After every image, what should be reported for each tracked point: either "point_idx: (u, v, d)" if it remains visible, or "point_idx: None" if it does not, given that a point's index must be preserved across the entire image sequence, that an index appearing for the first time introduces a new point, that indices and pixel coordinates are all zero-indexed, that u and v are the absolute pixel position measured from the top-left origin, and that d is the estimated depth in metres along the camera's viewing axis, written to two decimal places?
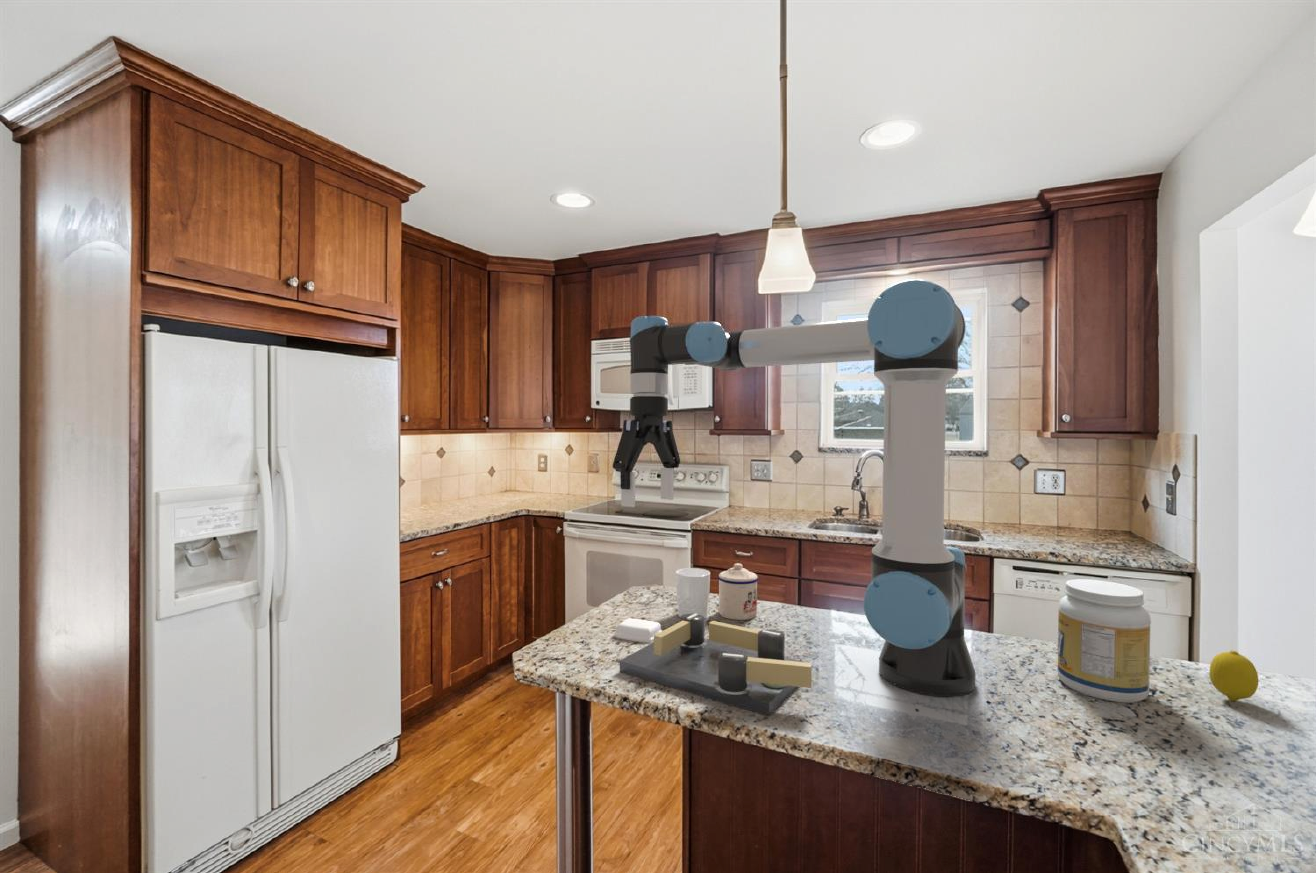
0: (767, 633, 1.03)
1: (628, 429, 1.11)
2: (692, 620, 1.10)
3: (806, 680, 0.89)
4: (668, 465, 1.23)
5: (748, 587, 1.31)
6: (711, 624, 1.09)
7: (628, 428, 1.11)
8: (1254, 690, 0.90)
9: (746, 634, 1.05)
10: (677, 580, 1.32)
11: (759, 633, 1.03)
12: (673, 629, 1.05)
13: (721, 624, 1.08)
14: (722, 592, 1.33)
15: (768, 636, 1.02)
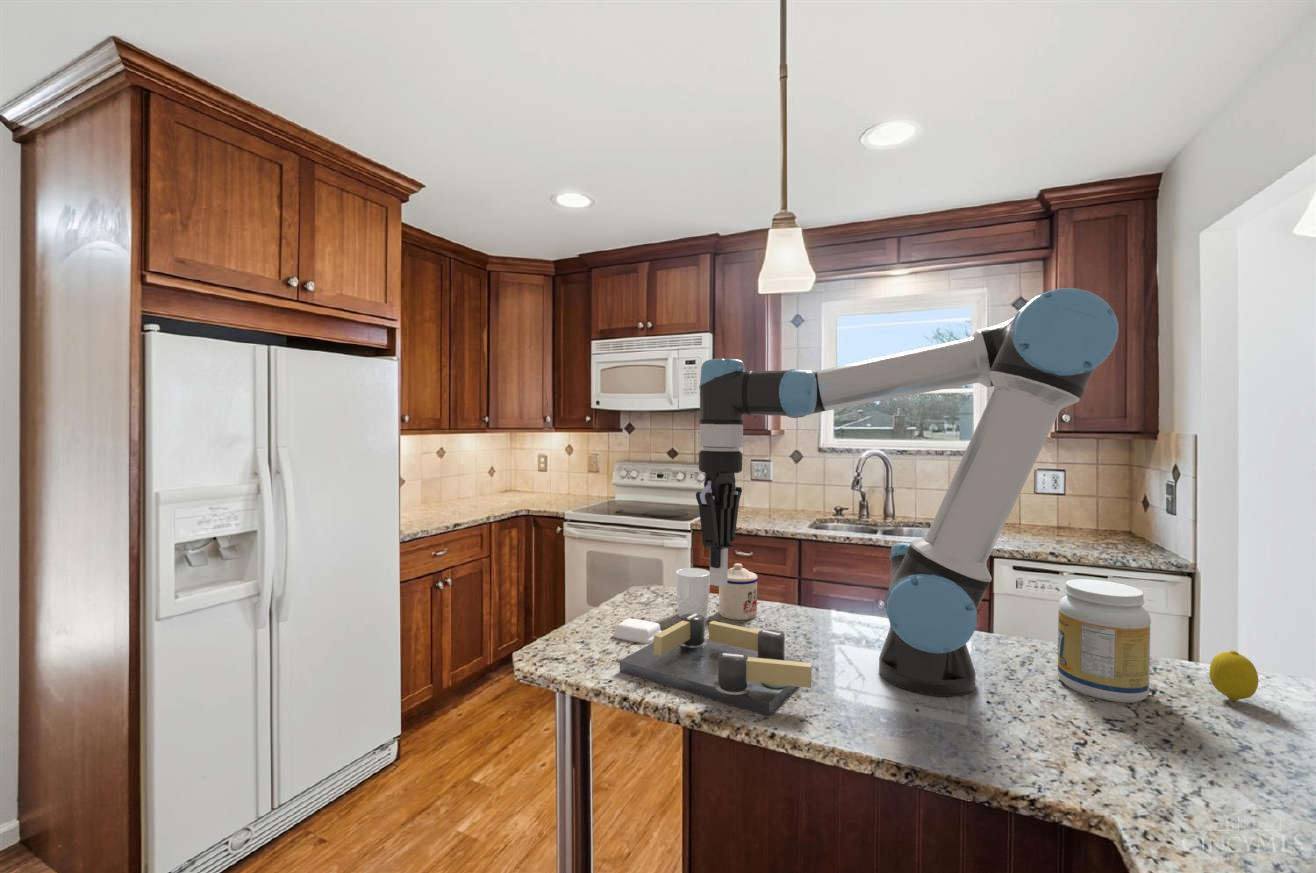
0: (767, 633, 1.03)
1: (704, 503, 0.97)
2: (692, 620, 1.10)
3: (806, 680, 0.89)
4: None
5: (748, 587, 1.31)
6: (711, 624, 1.09)
7: (704, 503, 0.97)
8: (1254, 690, 0.90)
9: (746, 634, 1.05)
10: (677, 580, 1.32)
11: (759, 633, 1.03)
12: (673, 629, 1.05)
13: (721, 624, 1.08)
14: (722, 592, 1.33)
15: (768, 636, 1.02)
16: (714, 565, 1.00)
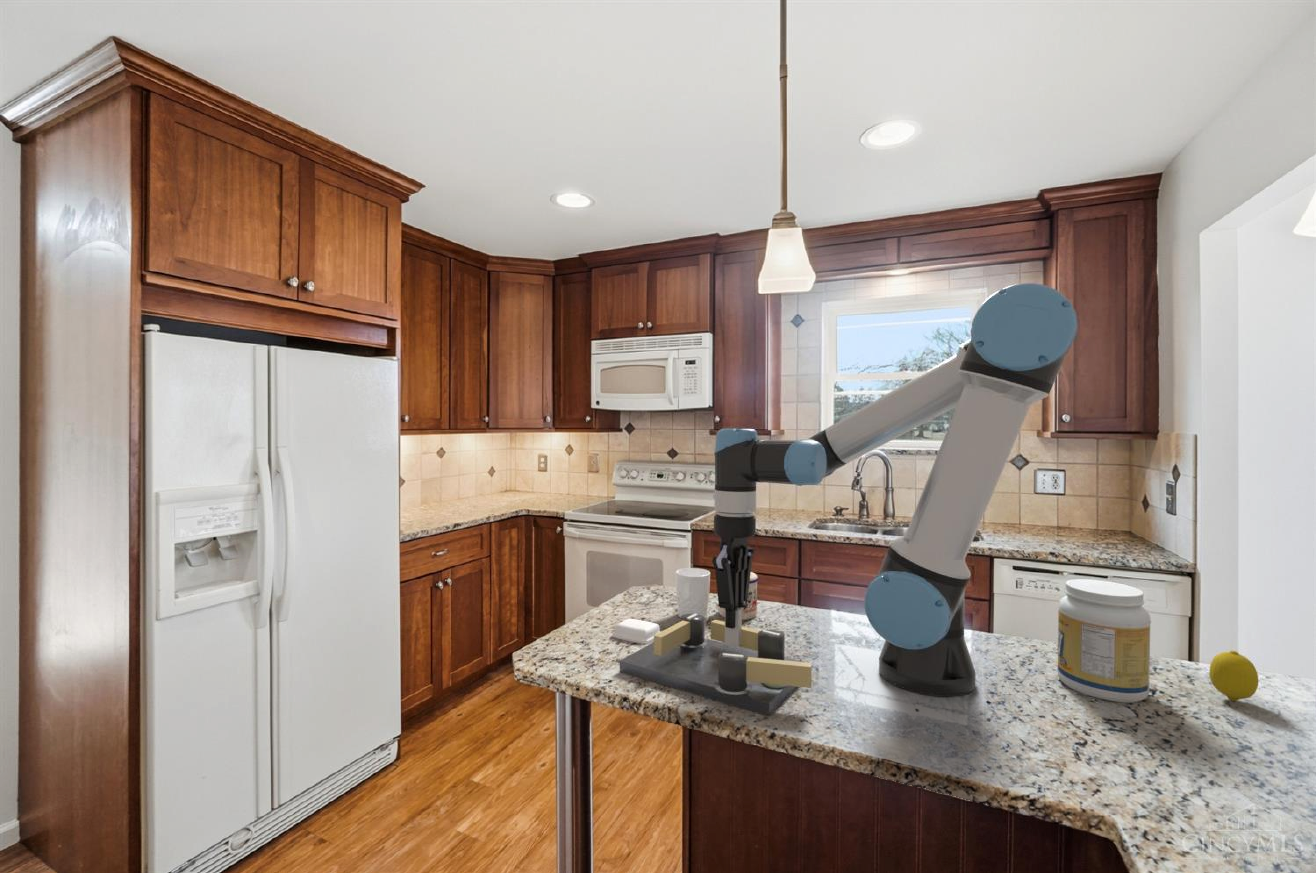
0: (767, 633, 1.03)
1: (721, 568, 1.01)
2: (692, 620, 1.10)
3: (806, 680, 0.89)
4: None
5: None
6: (713, 623, 1.09)
7: (720, 567, 1.01)
8: (1254, 690, 0.90)
9: (747, 633, 1.05)
10: (677, 580, 1.32)
11: (759, 633, 1.03)
12: (673, 629, 1.05)
13: (723, 623, 1.09)
14: None
15: (767, 636, 1.02)
16: (729, 626, 1.04)
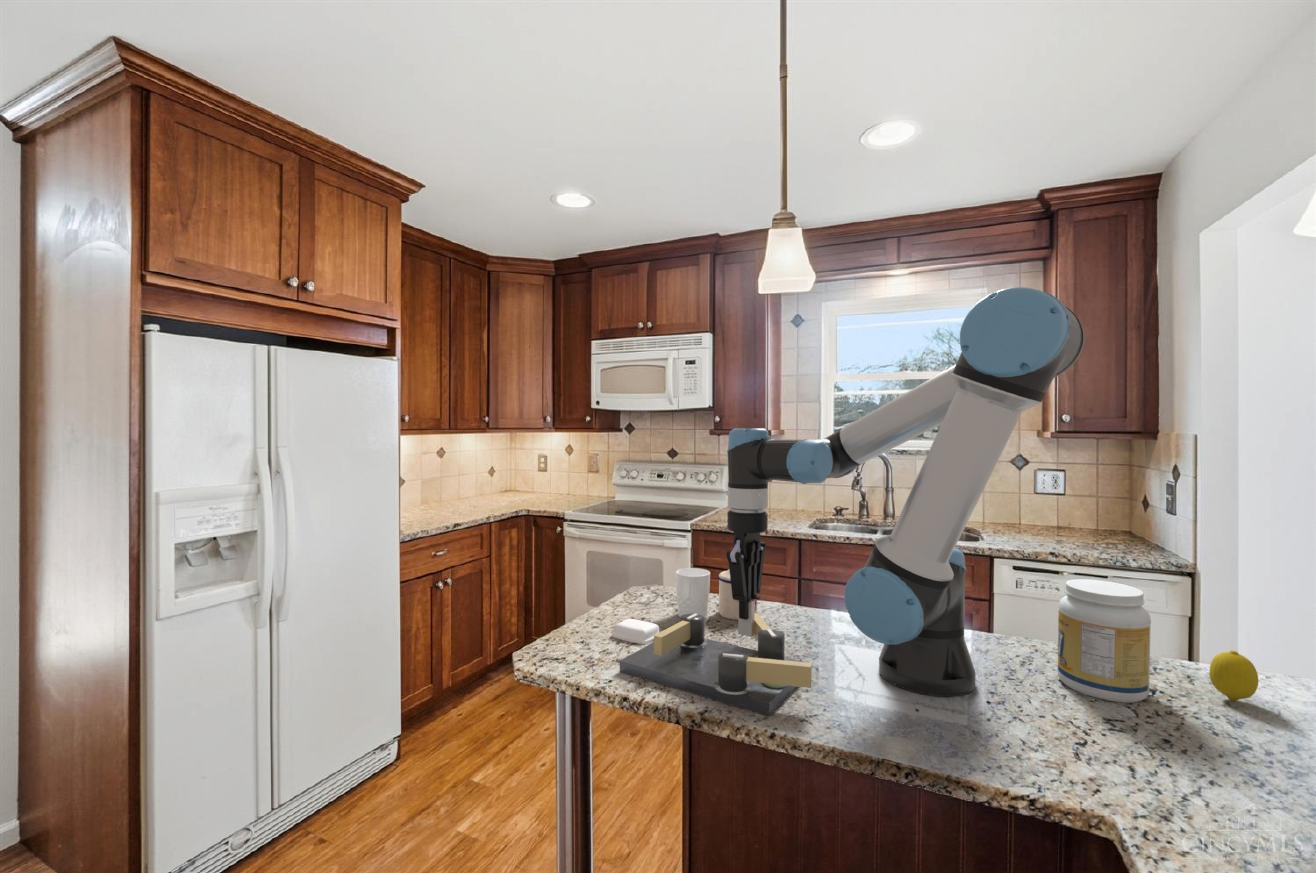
0: (768, 632, 1.03)
1: (734, 562, 1.06)
2: (692, 620, 1.10)
3: (806, 680, 0.89)
4: None
5: None
6: None
7: (734, 561, 1.06)
8: (1254, 690, 0.90)
9: (759, 629, 1.07)
10: (677, 580, 1.32)
11: (763, 630, 1.05)
12: (673, 629, 1.05)
13: (755, 616, 1.13)
14: (722, 592, 1.33)
15: (762, 634, 1.03)
16: (743, 617, 1.09)
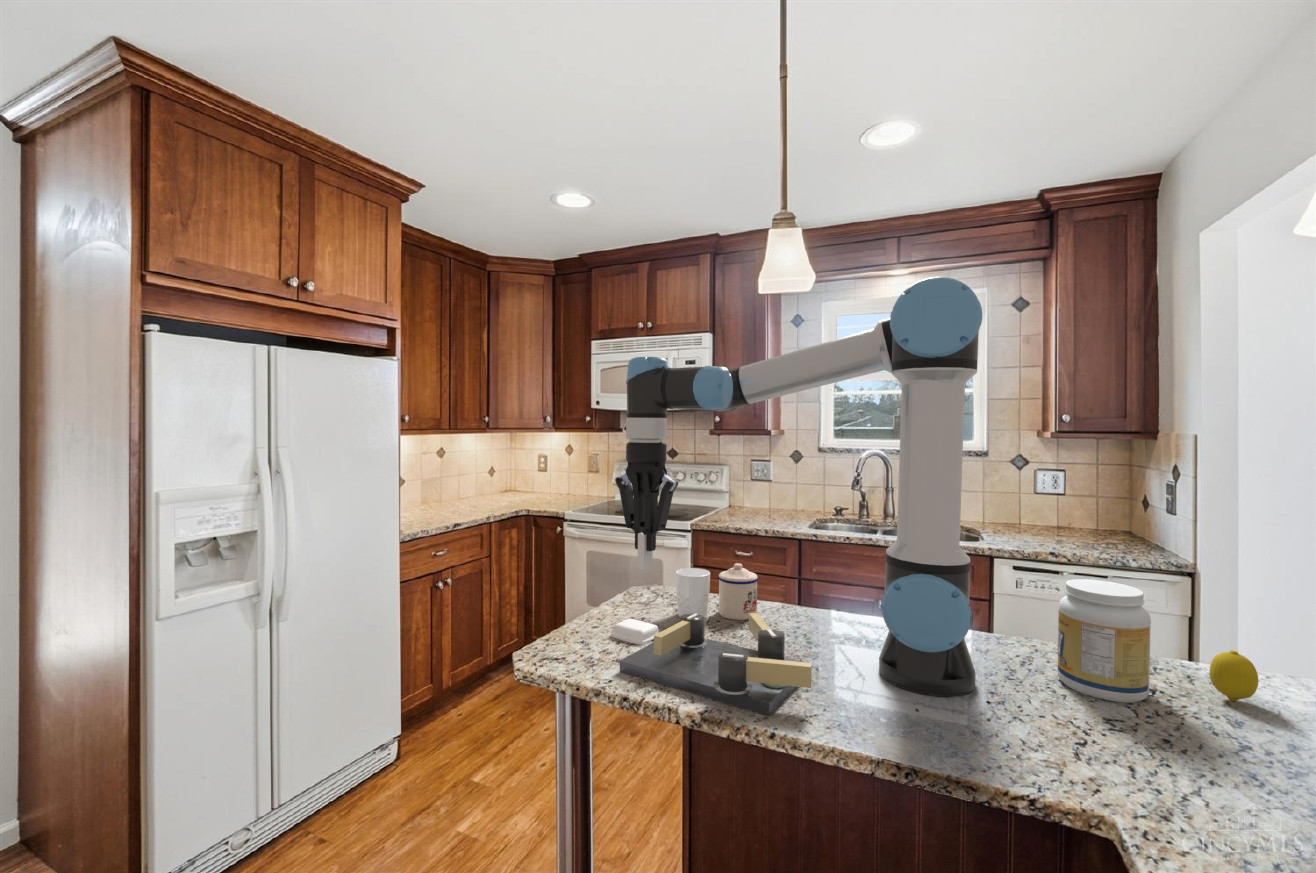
0: (768, 632, 1.03)
1: None
2: (692, 620, 1.10)
3: (806, 680, 0.89)
4: None
5: (748, 587, 1.31)
6: (749, 614, 1.14)
7: None
8: (1254, 690, 0.90)
9: (759, 629, 1.07)
10: (677, 580, 1.32)
11: (763, 630, 1.05)
12: (673, 629, 1.05)
13: (755, 616, 1.13)
14: (722, 592, 1.33)
15: (762, 634, 1.03)
16: None
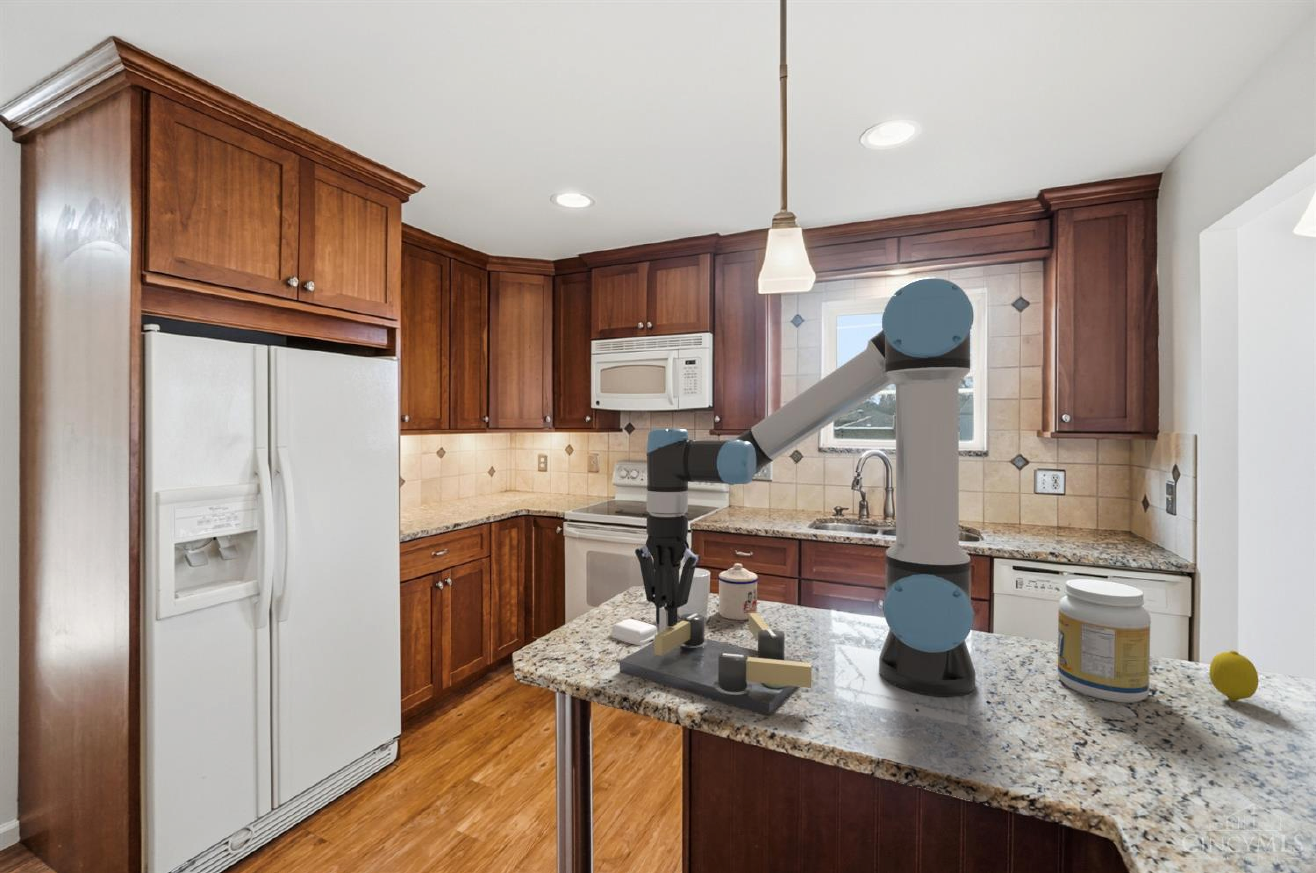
0: (768, 632, 1.03)
1: None
2: (692, 620, 1.10)
3: (806, 680, 0.89)
4: None
5: (748, 587, 1.31)
6: (749, 614, 1.14)
7: None
8: (1254, 690, 0.90)
9: (759, 629, 1.07)
10: None
11: (763, 630, 1.05)
12: (673, 629, 1.05)
13: (755, 616, 1.13)
14: (722, 592, 1.33)
15: (762, 634, 1.03)
16: None
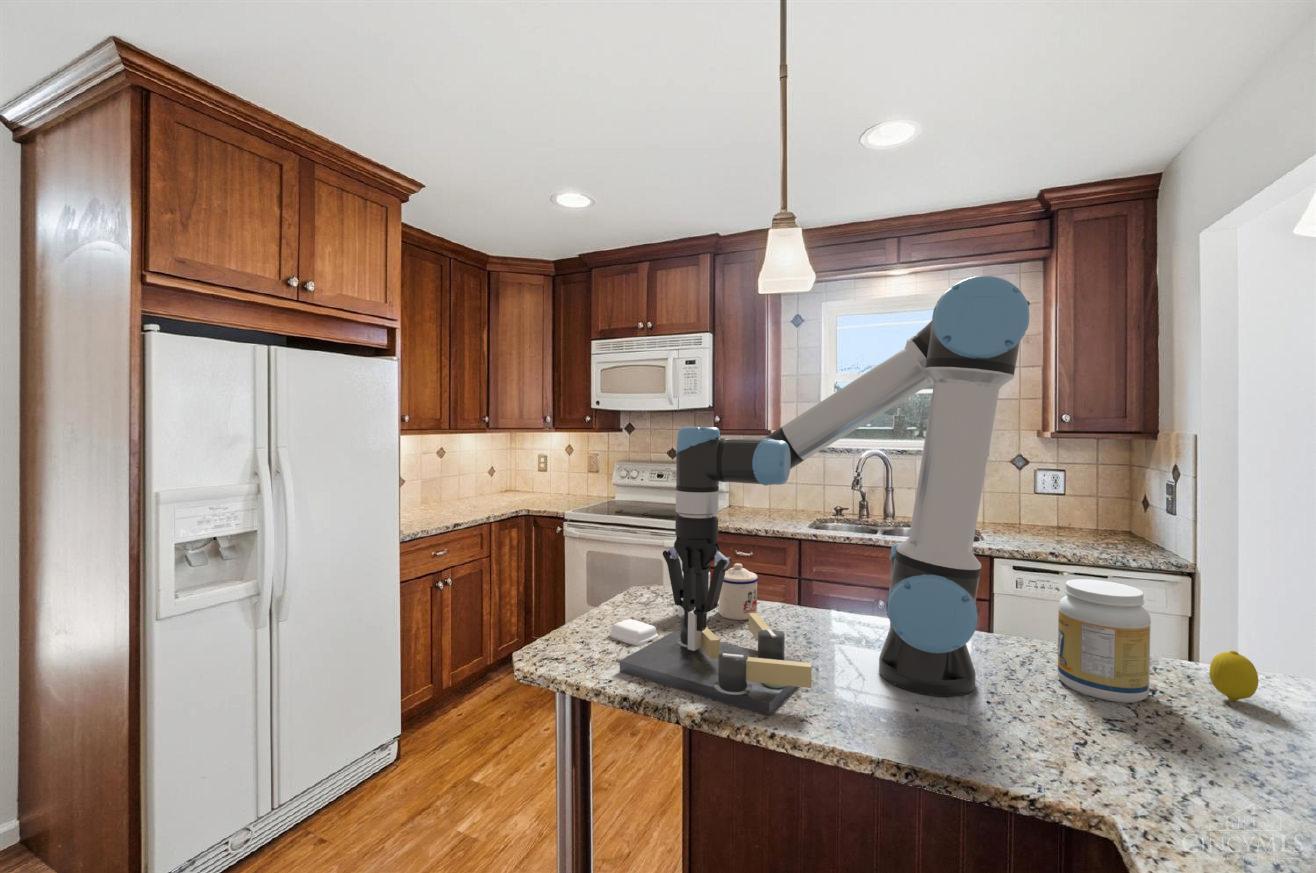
0: (768, 632, 1.03)
1: None
2: None
3: (806, 680, 0.89)
4: None
5: (748, 587, 1.31)
6: (749, 614, 1.14)
7: None
8: (1254, 690, 0.90)
9: (759, 629, 1.07)
10: None
11: (763, 630, 1.05)
12: (708, 630, 1.05)
13: (755, 616, 1.13)
14: (722, 592, 1.33)
15: (762, 634, 1.03)
16: None
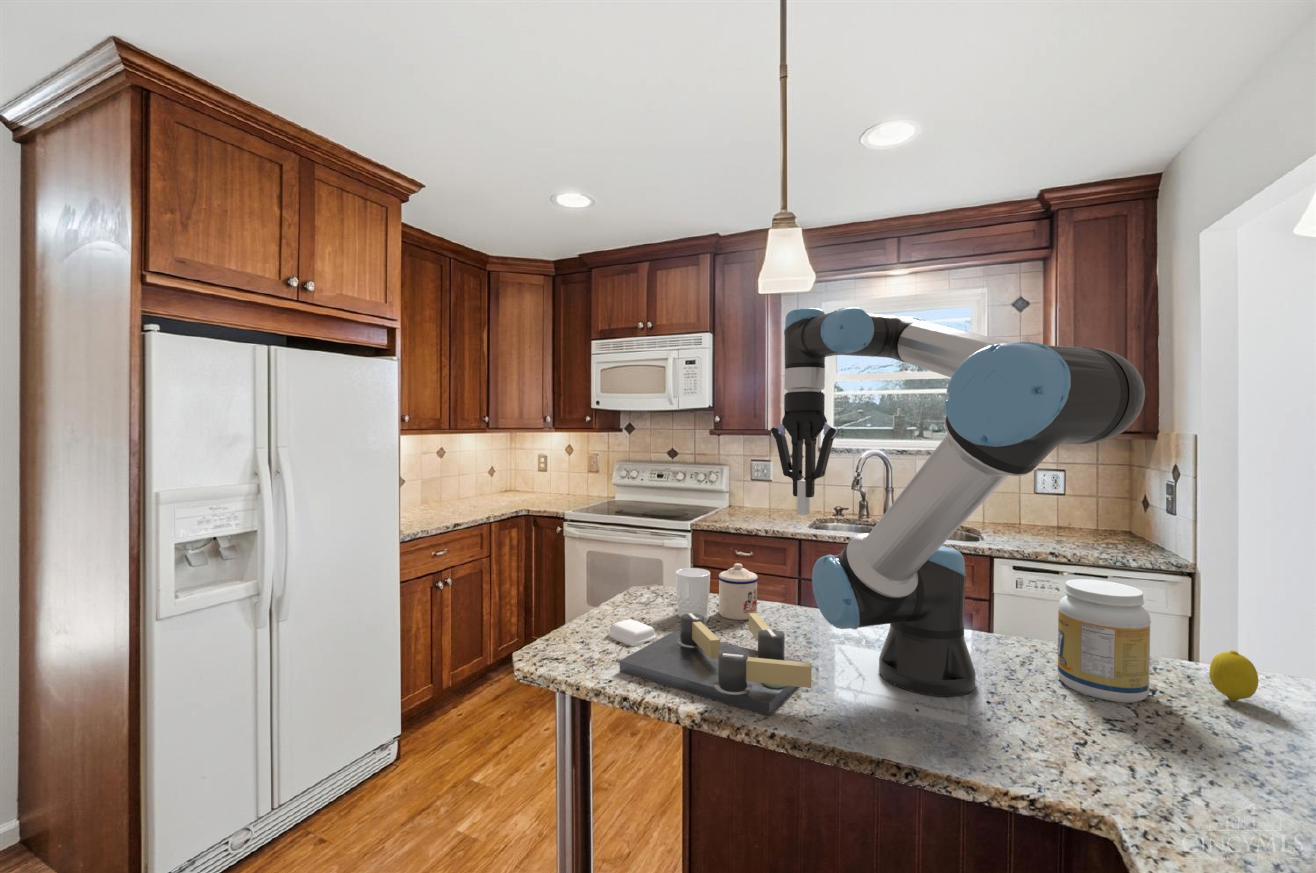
0: (768, 632, 1.03)
1: None
2: (699, 619, 1.11)
3: (806, 680, 0.89)
4: None
5: (748, 587, 1.31)
6: (749, 614, 1.14)
7: None
8: (1254, 690, 0.90)
9: (759, 629, 1.07)
10: (677, 580, 1.32)
11: (763, 630, 1.05)
12: (708, 630, 1.05)
13: (755, 616, 1.13)
14: (722, 592, 1.33)
15: (762, 634, 1.03)
16: None
